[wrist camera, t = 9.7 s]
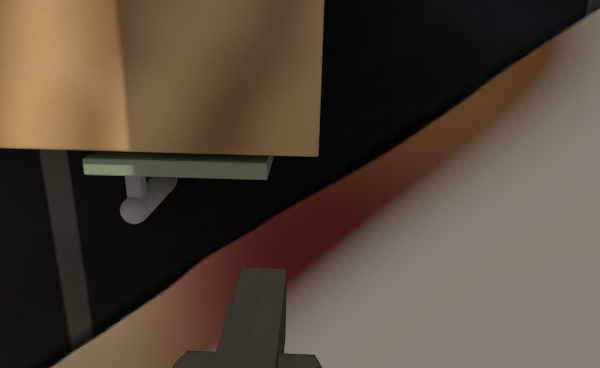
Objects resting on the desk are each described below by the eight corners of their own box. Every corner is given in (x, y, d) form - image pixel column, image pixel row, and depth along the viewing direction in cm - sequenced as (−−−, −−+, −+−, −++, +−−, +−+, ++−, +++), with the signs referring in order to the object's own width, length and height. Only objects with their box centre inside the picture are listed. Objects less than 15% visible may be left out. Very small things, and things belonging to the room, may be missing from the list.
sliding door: (166, 170, 31) (92, 236, 20) (162, 117, 30) (81, 158, 19) (281, 173, 31) (267, 241, 20) (281, 120, 30) (267, 163, 19)
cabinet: (62, 107, 30) (-85, 146, 19) (33, -86, 27) (-174, -182, 15) (314, 114, 30) (318, 157, 19) (320, -80, 26) (330, -172, 15)
